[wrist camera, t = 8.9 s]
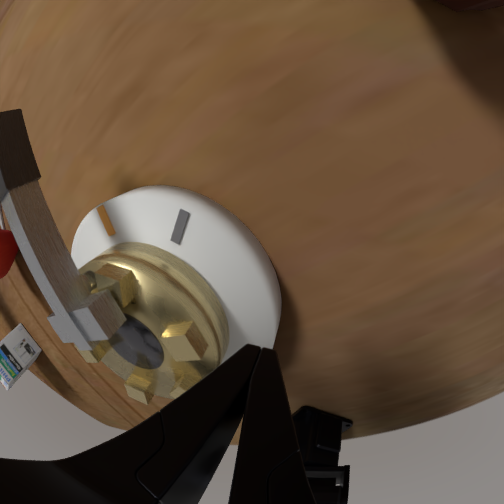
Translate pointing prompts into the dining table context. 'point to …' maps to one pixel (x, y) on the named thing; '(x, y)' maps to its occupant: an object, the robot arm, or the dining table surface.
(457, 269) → the dining table surface
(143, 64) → the dining table surface
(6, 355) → the light bulb box
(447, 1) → the muffin
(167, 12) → the dining table surface
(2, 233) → the apple
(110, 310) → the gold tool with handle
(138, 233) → the cap housing
